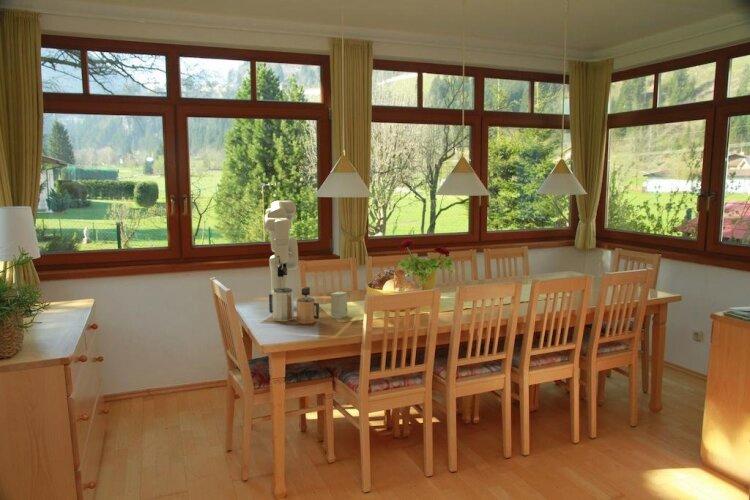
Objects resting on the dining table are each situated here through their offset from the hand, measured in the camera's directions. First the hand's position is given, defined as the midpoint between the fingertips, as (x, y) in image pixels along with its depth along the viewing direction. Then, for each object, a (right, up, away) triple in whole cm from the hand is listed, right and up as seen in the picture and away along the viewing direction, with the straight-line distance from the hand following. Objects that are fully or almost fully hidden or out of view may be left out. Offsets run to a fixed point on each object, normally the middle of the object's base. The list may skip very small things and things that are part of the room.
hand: (282, 275), depth 309 cm
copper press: (+14, -25, -2) cm, 29 cm away
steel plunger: (0, -14, +2) cm, 14 cm away
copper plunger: (+13, -21, -2) cm, 25 cm away
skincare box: (+30, -25, +10) cm, 40 cm away
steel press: (-1, -24, +4) cm, 24 cm away
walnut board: (+6, -26, +1) cm, 26 cm away
